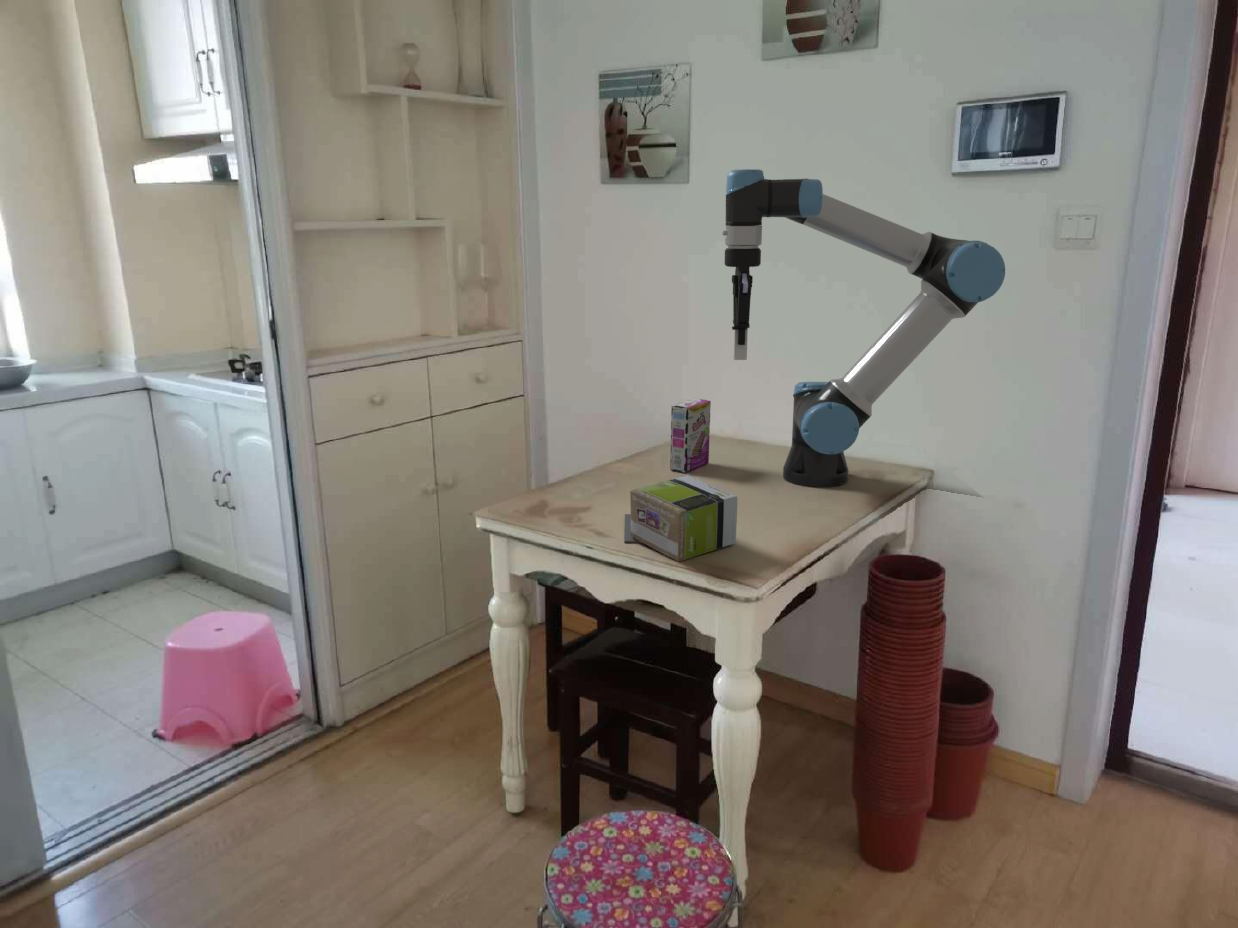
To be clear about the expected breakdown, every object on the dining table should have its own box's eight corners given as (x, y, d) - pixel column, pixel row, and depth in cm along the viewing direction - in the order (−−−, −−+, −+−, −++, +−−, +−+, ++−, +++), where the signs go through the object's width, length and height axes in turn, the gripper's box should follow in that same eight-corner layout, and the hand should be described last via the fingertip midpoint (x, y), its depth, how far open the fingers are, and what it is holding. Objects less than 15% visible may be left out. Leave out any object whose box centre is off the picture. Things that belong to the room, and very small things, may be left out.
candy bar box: (687, 474, 220) (687, 407, 216) (669, 471, 223) (669, 405, 219) (710, 463, 229) (711, 399, 225) (693, 460, 232) (694, 397, 228)
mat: (691, 515, 191) (691, 513, 190) (697, 542, 175) (697, 540, 175) (624, 515, 191) (624, 514, 191) (624, 542, 175) (624, 540, 175)
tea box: (687, 520, 185) (628, 536, 177) (688, 473, 182) (628, 488, 174) (737, 544, 173) (676, 563, 165) (739, 495, 170) (677, 511, 162)
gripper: (721, 246, 197) (719, 354, 203) (728, 248, 184) (725, 364, 190) (756, 245, 197) (753, 354, 203) (765, 248, 184) (761, 364, 190)
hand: (740, 359), depth 197 cm, fingers closed
